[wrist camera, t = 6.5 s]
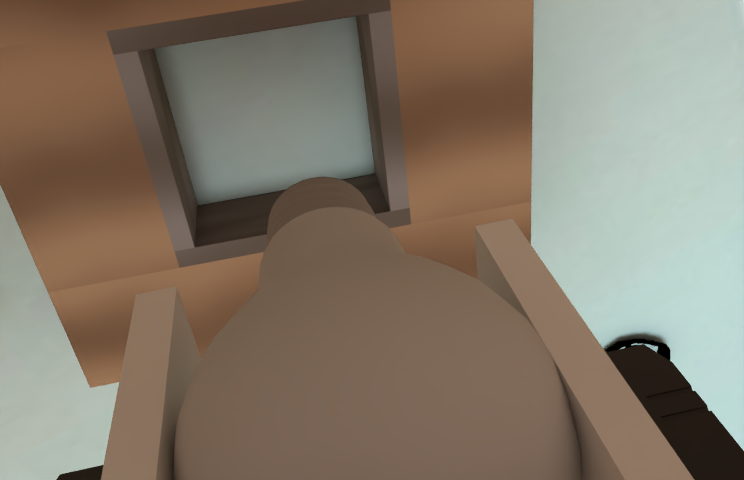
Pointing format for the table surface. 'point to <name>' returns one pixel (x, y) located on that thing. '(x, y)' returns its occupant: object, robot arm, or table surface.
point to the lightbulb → (370, 365)
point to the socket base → (251, 214)
